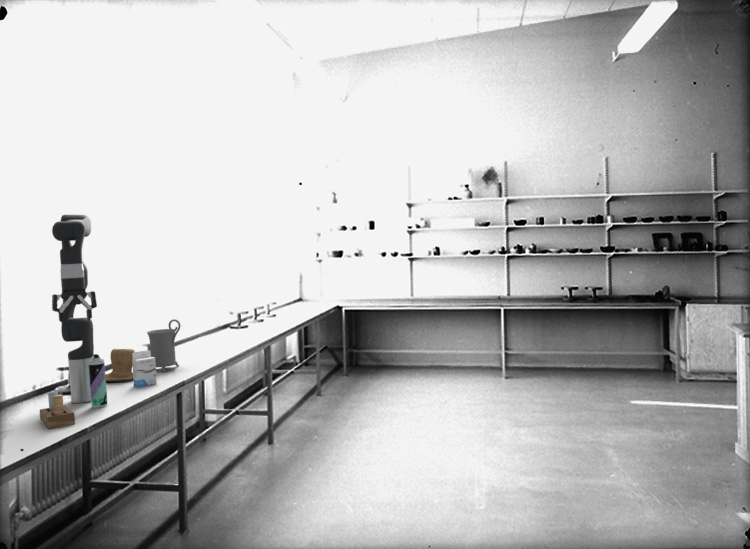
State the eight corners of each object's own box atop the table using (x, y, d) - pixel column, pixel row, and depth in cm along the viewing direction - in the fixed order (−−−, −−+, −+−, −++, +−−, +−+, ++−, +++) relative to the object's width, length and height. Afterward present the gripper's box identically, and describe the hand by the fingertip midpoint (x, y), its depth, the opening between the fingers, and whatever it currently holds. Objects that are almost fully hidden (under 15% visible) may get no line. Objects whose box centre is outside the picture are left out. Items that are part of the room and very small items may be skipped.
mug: (140, 372, 289) (136, 322, 288) (156, 366, 304) (153, 318, 303) (175, 372, 286) (172, 321, 285) (190, 366, 300) (187, 317, 299)
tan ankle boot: (141, 376, 280) (139, 345, 279) (132, 382, 268) (129, 349, 267) (108, 378, 279) (106, 347, 278) (98, 384, 267) (95, 351, 267)
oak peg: (53, 424, 203) (51, 396, 203) (63, 422, 205) (61, 394, 205) (56, 426, 201) (54, 397, 201) (65, 424, 203) (63, 395, 203)
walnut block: (40, 420, 210) (39, 409, 210) (65, 415, 215) (64, 404, 215) (48, 429, 198) (48, 417, 198) (75, 423, 203) (74, 412, 203)
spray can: (88, 407, 225) (84, 355, 224) (99, 403, 230) (96, 352, 229) (99, 408, 223) (95, 355, 222) (110, 404, 228) (107, 353, 227)
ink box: (137, 387, 256) (135, 353, 256) (133, 385, 260) (131, 352, 259) (157, 383, 262) (154, 350, 262) (152, 382, 266) (150, 349, 265)
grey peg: (49, 420, 210) (47, 392, 209) (58, 418, 212) (56, 390, 211) (51, 421, 207) (48, 393, 207) (60, 420, 209) (58, 392, 209)
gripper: (91, 275, 220) (94, 318, 221) (48, 278, 211) (51, 323, 212) (96, 275, 214) (99, 319, 215) (52, 278, 205) (56, 324, 206)
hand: (75, 321), depth 213 cm, fingers open, 8 cm apart
